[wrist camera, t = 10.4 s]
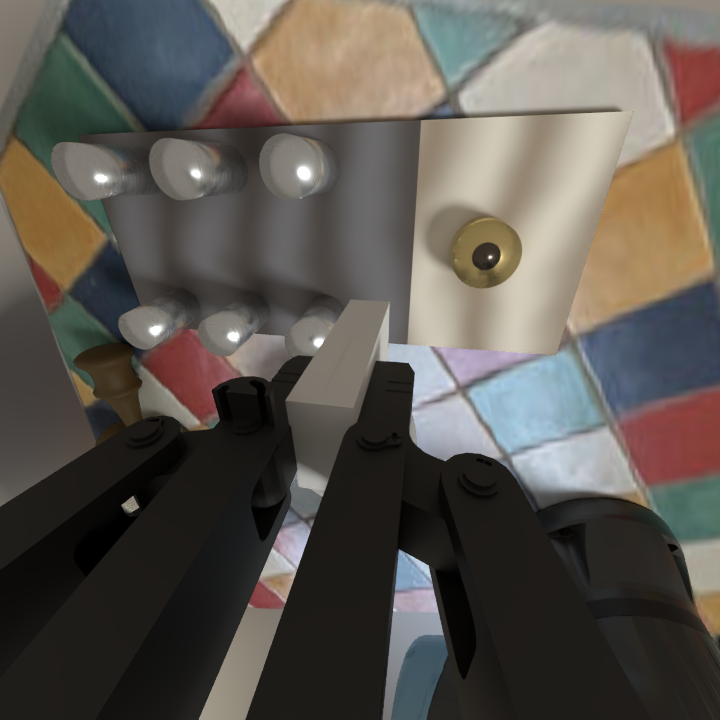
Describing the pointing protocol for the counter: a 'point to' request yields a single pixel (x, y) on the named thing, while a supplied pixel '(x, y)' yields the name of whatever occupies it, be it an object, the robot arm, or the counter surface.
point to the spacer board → (388, 225)
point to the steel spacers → (199, 180)
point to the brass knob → (485, 252)
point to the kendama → (114, 382)
